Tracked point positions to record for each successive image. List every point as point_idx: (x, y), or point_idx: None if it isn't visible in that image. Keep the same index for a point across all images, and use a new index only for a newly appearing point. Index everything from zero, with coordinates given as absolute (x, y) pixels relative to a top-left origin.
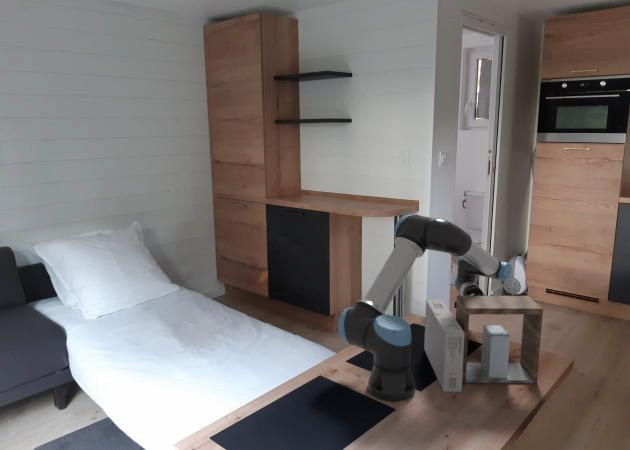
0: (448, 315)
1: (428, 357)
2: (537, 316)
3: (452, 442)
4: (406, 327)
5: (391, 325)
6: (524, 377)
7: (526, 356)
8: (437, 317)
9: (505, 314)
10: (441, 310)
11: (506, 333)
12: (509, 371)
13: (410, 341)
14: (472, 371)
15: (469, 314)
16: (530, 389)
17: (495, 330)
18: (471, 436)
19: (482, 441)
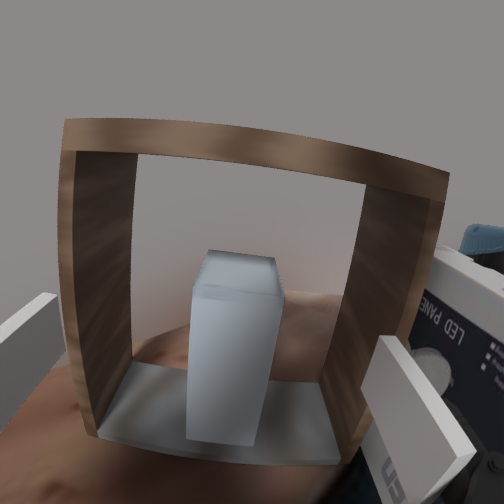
0: (444, 257)
1: None
2: (134, 164)
3: (339, 296)
4: (473, 224)
5: (494, 226)
6: (146, 373)
7: (108, 357)
8: (466, 256)
9: (63, 337)
10: (491, 278)
11: (212, 255)
12: (170, 402)
13: (459, 252)
14: (294, 413)
15: (363, 380)
16: (159, 353)
17: (245, 268)
18: (316, 299)
19: (303, 293)
